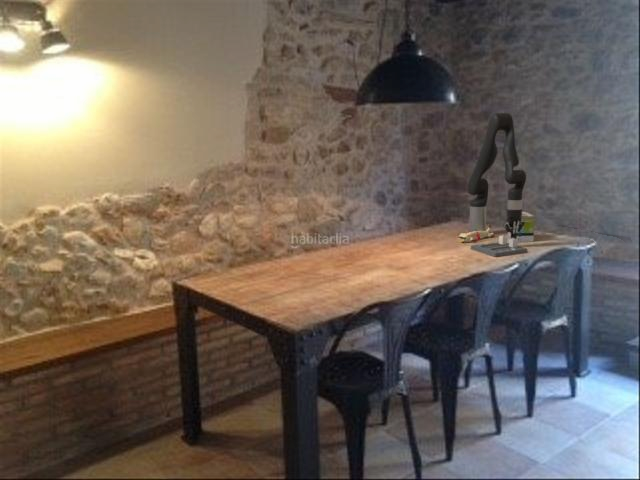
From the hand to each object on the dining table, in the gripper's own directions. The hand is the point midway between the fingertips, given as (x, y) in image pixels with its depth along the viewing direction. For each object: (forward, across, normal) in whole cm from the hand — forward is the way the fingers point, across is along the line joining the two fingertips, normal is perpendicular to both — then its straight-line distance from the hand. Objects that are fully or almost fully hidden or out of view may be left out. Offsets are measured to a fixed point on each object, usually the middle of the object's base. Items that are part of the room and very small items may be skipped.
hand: (513, 240), depth 309 cm
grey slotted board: (+4, +13, +4) cm, 14 cm away
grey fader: (+1, +7, +8) cm, 11 cm away
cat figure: (+4, +6, -24) cm, 25 cm away
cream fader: (+1, +7, 0) cm, 7 cm away
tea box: (+4, -15, -12) cm, 20 cm away
